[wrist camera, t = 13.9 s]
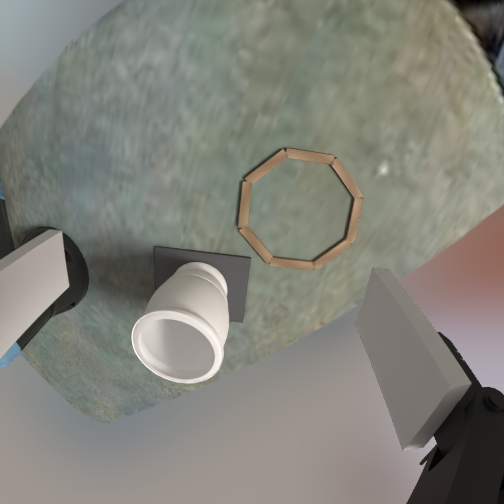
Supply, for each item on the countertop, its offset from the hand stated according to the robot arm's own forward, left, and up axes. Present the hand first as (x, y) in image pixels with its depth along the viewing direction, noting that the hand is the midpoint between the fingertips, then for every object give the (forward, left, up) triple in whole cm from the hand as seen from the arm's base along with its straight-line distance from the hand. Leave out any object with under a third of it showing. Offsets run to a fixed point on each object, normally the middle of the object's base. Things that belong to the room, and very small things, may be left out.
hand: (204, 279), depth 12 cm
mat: (-5, -17, -30) cm, 35 cm away
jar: (-5, -17, -29) cm, 34 cm away
